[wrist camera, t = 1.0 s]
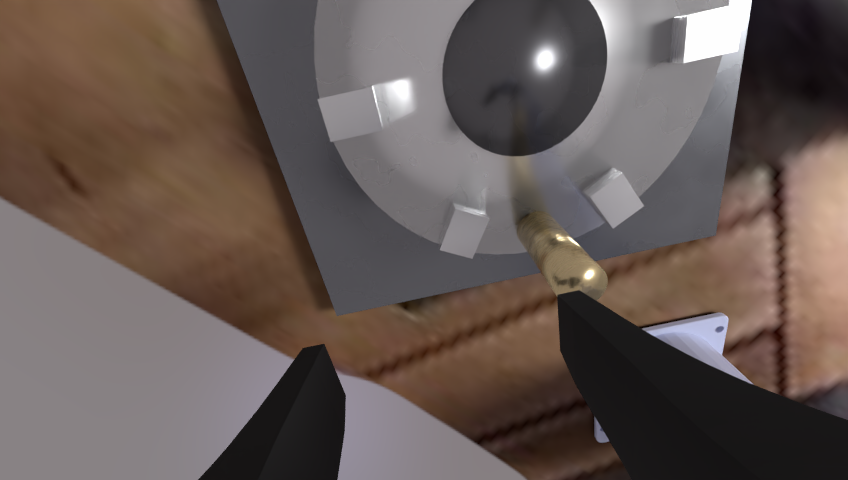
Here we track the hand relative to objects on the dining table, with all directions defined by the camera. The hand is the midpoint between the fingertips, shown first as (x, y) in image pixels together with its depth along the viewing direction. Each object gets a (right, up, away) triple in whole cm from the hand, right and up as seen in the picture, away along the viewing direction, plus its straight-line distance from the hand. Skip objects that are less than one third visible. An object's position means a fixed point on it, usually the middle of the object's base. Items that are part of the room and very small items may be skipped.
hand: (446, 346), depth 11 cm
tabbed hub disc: (+3, +10, +5) cm, 11 cm away
